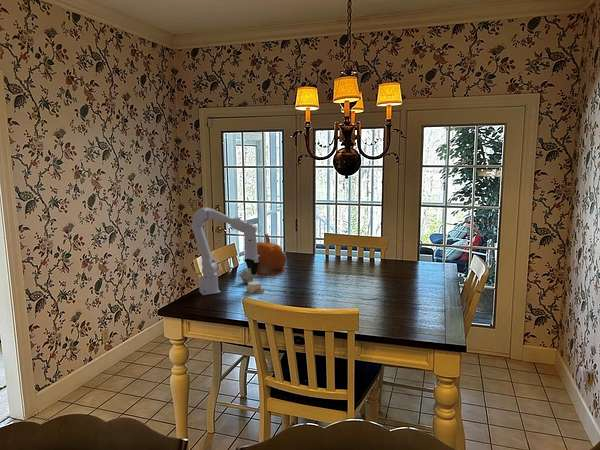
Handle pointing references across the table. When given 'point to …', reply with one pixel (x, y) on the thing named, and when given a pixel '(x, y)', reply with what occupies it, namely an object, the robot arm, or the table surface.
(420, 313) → the table surface
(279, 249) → the pumpkin
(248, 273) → the green capsule
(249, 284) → the cream block
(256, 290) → the birch base block
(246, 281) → the game die
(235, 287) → the table surface
